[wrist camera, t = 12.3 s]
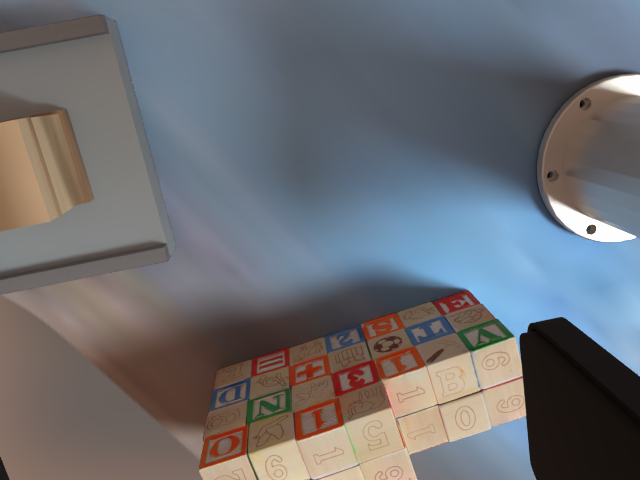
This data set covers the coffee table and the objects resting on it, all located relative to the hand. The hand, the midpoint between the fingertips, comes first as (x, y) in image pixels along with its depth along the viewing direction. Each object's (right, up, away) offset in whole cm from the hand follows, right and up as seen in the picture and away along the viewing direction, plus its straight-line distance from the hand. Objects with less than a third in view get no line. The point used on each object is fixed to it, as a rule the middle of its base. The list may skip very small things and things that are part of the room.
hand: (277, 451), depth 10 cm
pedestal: (-18, +9, +27) cm, 34 cm away
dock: (-18, +9, +29) cm, 36 cm away
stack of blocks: (+3, -6, +36) cm, 37 cm away
